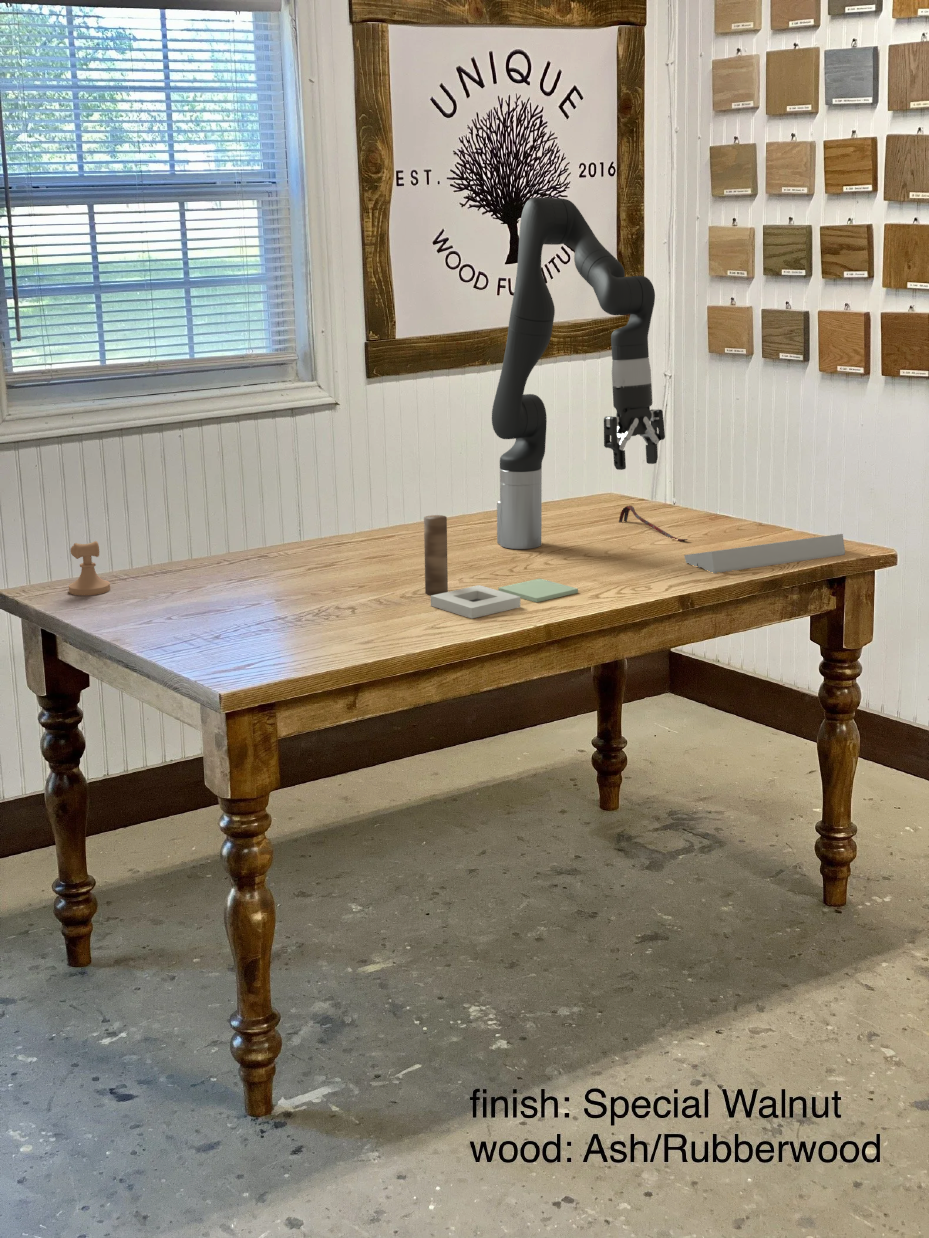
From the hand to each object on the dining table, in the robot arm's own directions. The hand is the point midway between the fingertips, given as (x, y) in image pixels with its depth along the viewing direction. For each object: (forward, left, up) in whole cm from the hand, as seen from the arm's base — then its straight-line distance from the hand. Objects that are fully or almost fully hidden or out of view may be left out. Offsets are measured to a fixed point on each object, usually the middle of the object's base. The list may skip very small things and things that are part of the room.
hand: (636, 466), depth 283 cm
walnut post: (-20, -34, -23) cm, 46 cm away
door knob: (-68, -84, -24) cm, 111 cm away
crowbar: (-30, +38, -24) cm, 54 cm away
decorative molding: (+4, +36, -24) cm, 43 cm away
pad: (-7, -19, -23) cm, 31 cm away
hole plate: (-7, -35, -23) cm, 43 cm away
